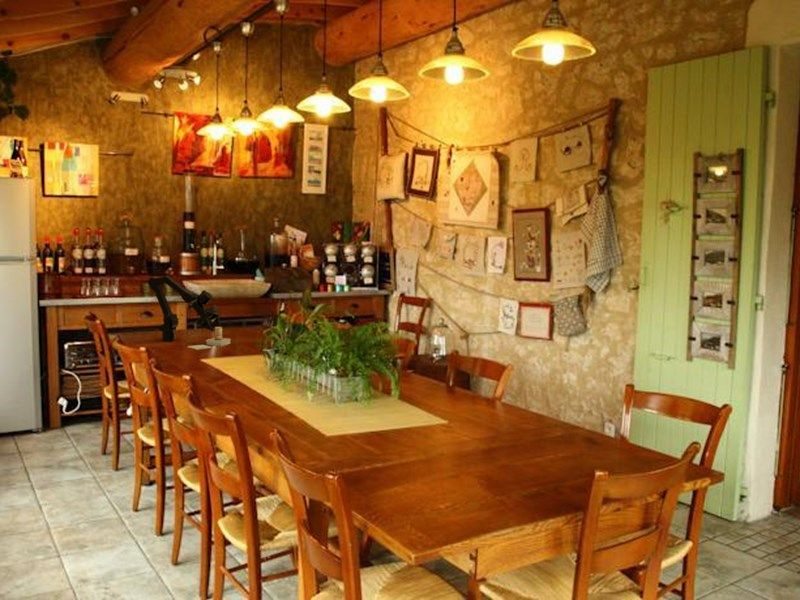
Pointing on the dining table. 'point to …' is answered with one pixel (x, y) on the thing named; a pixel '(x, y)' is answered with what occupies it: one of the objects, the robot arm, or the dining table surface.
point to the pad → (199, 347)
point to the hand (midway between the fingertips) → (217, 329)
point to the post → (218, 333)
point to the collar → (218, 342)
